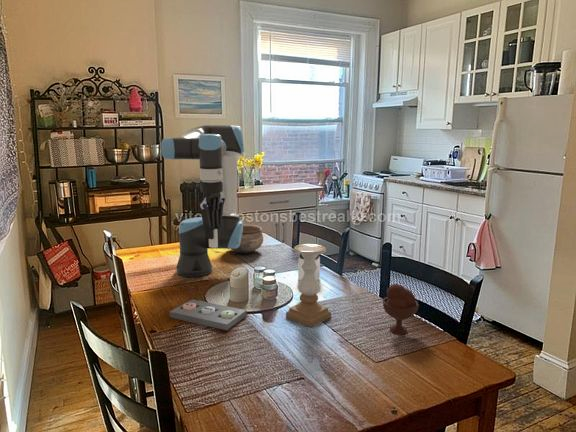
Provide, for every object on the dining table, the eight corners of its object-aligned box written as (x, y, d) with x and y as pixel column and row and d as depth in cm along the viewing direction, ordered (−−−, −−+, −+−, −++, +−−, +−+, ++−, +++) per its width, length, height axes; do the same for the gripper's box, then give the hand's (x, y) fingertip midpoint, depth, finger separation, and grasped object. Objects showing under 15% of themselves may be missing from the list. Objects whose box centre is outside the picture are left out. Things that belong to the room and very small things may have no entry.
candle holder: (331, 317, 148) (333, 247, 143) (310, 327, 140) (312, 254, 136) (306, 308, 155) (308, 241, 151) (285, 317, 148) (285, 247, 143)
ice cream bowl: (397, 341, 131) (400, 293, 128) (373, 327, 141) (375, 281, 138) (424, 334, 136) (427, 288, 133) (399, 320, 146) (402, 276, 143)
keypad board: (169, 317, 147) (169, 311, 146) (192, 304, 157) (191, 299, 157) (227, 330, 138) (226, 324, 137) (246, 315, 148) (246, 310, 148)
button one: (218, 321, 143) (218, 313, 143) (225, 316, 147) (225, 308, 147) (229, 324, 142) (229, 316, 141) (237, 318, 145) (237, 311, 145)
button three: (198, 317, 146) (198, 309, 146) (206, 312, 150) (206, 305, 150) (210, 319, 145) (210, 312, 144) (217, 314, 149) (217, 307, 148)
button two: (180, 313, 149) (180, 305, 149) (188, 308, 153) (188, 301, 153) (191, 315, 148) (190, 308, 147) (199, 310, 152) (198, 303, 151)
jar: (323, 280, 184) (324, 252, 182) (308, 284, 179) (309, 255, 176) (308, 274, 191) (309, 247, 188) (294, 278, 186) (294, 250, 183)
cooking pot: (217, 248, 229) (217, 225, 227) (251, 244, 238) (251, 221, 236) (236, 261, 208) (236, 236, 206) (272, 256, 217) (272, 231, 215)
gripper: (209, 184, 144) (211, 253, 149) (231, 178, 155) (232, 243, 161) (190, 182, 147) (193, 250, 152) (213, 177, 158) (214, 240, 164)
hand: (213, 247), depth 157 cm, fingers closed
